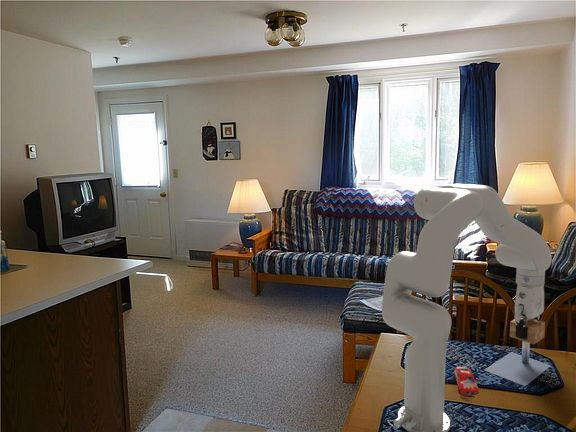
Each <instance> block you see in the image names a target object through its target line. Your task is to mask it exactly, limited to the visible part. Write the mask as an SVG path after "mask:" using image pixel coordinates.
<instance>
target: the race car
mask: <svg viewBox="0 0 576 432" xmlns="http://www.w3.org/2000/svg"><path fill="white" fill-rule="evenodd" d="M453 373H454V377H455V381H456V383H457V386H458V387H457V388H458V389H457V391H458V394H459V395H461V396H464V397H469V398H475V396H474V395H475V394H479V391H480V390H479V387H478V384H477V382H478V380H477V379H475V378H474V375H473V372H472V371H471V369H470V368H468V366H467V367H466V366H455V368H454V370H453Z"/></svg>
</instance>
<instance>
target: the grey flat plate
mask: <svg viewBox="0 0 576 432" xmlns="http://www.w3.org/2000/svg"><path fill="white" fill-rule="evenodd" d="M521 360H522V354H519V353H516V352H514V351H510V352H509V353H508V354H506V355H504V356H502V357H501V358H500V359H498V360H497V361H495V362H494V363H492V364H490V365H489V366H488V367H485V369H484V371H485V372H487V373H491V374H493V375H496V376H498V377H501V378H504V379H506V380H508V381H509V382H513V383H515V384H517V385H518V384H519V385H520V386H523V387H526V386H527V385H529V384H530V383H531V382H533V381H534V380H535V379H536V378H538V377H539V376H540V375H541V374H543V373H544V372H545V371H547V370H548V369H549V368H550V367H551V366H552V365H551V364H549V363H545V362H543V361H539V360H536V359H533V358H530V357H529V364H524V363H522V362H521Z"/></svg>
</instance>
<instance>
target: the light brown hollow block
mask: <svg viewBox="0 0 576 432" xmlns="http://www.w3.org/2000/svg"><path fill="white" fill-rule="evenodd" d="M521 320H523V322H524V320H525V319H524V318H521ZM526 327H528V333H527V339H526V340H525V339H521V338H518V337H516V322H515V318H514V319H512V320H511V321H510V322H509V338H512V339H516V340H519V341H522V342H523V341H525V342H528V343H530V345H536V344H537V343H539V342H540V341H541V340H543V339H544V338H545V331H546V321H544V320H543V321H542V320H540V319H537V320H536V319H528V322H527V326H526Z"/></svg>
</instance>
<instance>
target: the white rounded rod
mask: <svg viewBox="0 0 576 432" xmlns="http://www.w3.org/2000/svg"><path fill="white" fill-rule="evenodd" d="M521 345H522V348H521V355H522V360H521V362H522V363H524V364H529V358H530V347H531V346H530V345H531V343H528V342H525V341H522V343H521Z"/></svg>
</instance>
